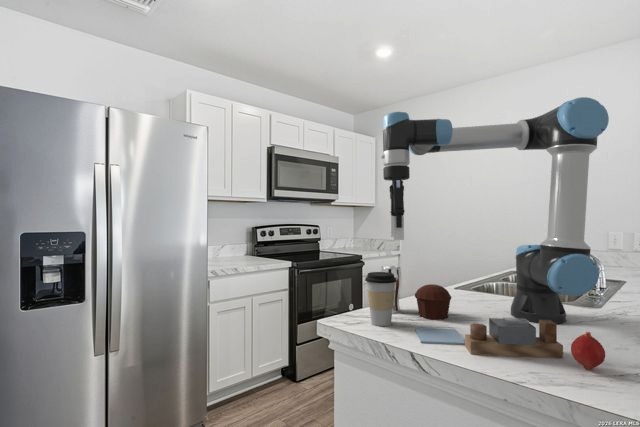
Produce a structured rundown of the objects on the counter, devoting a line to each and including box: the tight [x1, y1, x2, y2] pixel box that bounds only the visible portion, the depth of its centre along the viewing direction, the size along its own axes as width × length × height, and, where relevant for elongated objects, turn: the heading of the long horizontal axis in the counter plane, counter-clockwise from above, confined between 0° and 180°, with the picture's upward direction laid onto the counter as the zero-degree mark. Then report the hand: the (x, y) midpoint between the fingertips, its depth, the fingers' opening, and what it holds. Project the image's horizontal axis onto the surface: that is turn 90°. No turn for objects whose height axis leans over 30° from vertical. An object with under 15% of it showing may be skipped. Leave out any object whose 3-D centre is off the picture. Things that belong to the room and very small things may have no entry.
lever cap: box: [488, 317, 537, 345], centre depth 84 cm, size 8×6×5 cm
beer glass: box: [380, 265, 402, 314], centre depth 121 cm, size 7×7×15 cm
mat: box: [414, 327, 465, 346], centre depth 95 cm, size 11×11×1 cm
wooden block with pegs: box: [464, 320, 564, 359], centre depth 84 cm, size 20×5×8 cm, turn 82°
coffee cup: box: [364, 271, 396, 327], centre depth 107 cm, size 9×9×15 cm
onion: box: [570, 331, 606, 371], centre depth 74 cm, size 6×6×8 cm
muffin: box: [414, 283, 452, 321], centre depth 114 cm, size 12×11×10 cm
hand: (397, 238), depth 103 cm, fingers open, 13 cm apart
